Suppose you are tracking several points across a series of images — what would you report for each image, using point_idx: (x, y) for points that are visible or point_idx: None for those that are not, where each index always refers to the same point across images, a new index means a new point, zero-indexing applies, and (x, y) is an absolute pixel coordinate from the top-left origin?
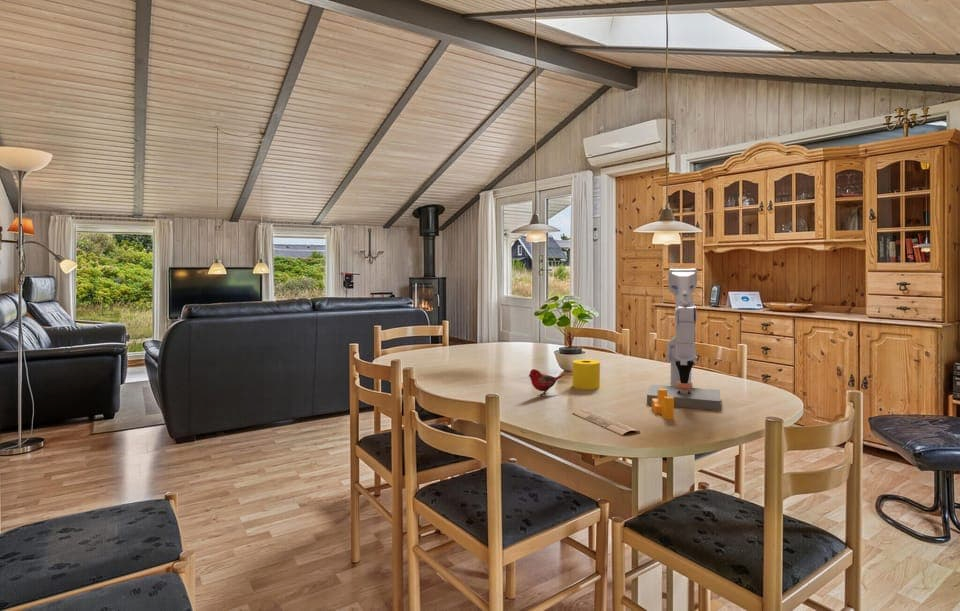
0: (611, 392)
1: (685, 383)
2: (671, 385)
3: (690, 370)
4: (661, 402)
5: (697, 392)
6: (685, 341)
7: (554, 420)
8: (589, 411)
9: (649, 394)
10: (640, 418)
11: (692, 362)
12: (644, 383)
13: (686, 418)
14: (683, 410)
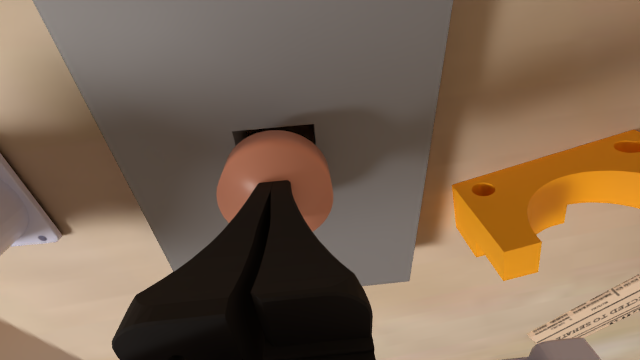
0: None
1: (292, 190)
2: (15, 240)
3: (320, 243)
4: (533, 216)
5: (233, 86)
6: None
7: (610, 353)
8: (562, 334)
9: (398, 276)
10: (609, 227)
11: (227, 323)
12: (44, 319)
13: (627, 79)
14: (475, 112)
